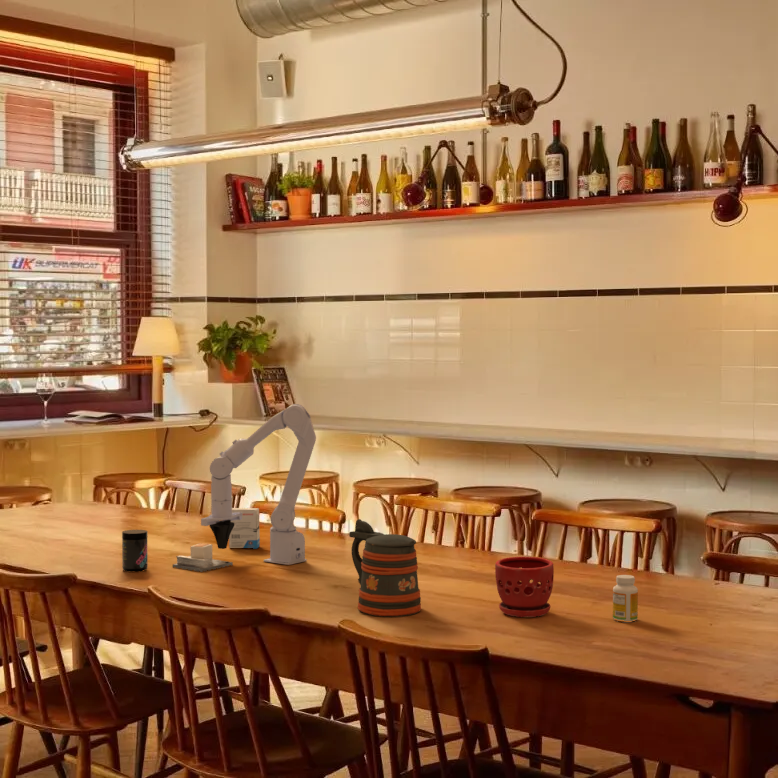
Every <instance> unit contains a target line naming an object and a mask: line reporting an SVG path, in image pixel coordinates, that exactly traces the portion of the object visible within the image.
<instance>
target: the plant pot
mask: <svg viewBox="0 0 778 778" xmlns="http://www.w3.org/2000/svg"><path fill="white" fill-rule="evenodd" d="M494 568H495V569H494V570H495V572H494V573H495V584H496V589H497V593H498V595H499V598H500V600H501V602H500V603H499V604H498V607H499V609H500V611H501V613H503V614H505V615H507V616H510V617H514V616H516V618H522V617H531V618H537V617H536V616H538V617H539V616H541V617H543V616H544V615H546V614H548V613H549V611H550V609H551V604H550V603H548V601H549V600H550V597H551V595H552V592H553V586H554V576H555V575H554V572H555V571H554V563H553V561H551V560H549V559H547V558H545V557H544V558H543V557H536V556H511V557H510V556H509V557H504V558H500V559H499V560H497V561H496V562H495V566H494ZM530 581H532V582H530Z"/></svg>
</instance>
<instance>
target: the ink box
mask: <svg viewBox="0 0 778 778" xmlns="http://www.w3.org/2000/svg"><path fill="white" fill-rule="evenodd" d="M235 512H240V513H242V519H241V520H233V521H231V522H234V527H233V529H232V531H231V533H230V536H229V539H228V544H229V546H228V549H229V548H253V550H256V549H257V550H258V548H259V547H260V543H261V542H260V540H261V538H260V537H261V536H260V533H261V532H260V508H259V507H257V508H256V507H250V508H249V507H247V508H245V507H244V508H243V507H232V513H235Z"/></svg>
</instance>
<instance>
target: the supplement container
mask: <svg viewBox="0 0 778 778" xmlns="http://www.w3.org/2000/svg"><path fill="white" fill-rule="evenodd" d="M121 543H122V545H121V546H122V548H121V549H122V550H121V551H122V557H121V558H122V559H121V561H122V563H121V564H122V570H123V571H124V570H125V571H124V572H126V571H140V572H144V571H143V570H145V571H146V570H147V569H148V567H149V566H148V565H149V564H148V558H149V557H148V556H149V555H148V530H146V529H127V530H123V531H121Z"/></svg>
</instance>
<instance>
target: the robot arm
mask: <svg viewBox="0 0 778 778" xmlns="http://www.w3.org/2000/svg"><path fill="white" fill-rule="evenodd" d="M285 428H288V429H290V430H291V431H292V432H293V434H294V436H295V437H296V439H297V442H298V443H297V446H296V448H295V451H294V452H295V453H294V455H293V458H292V462H291V465H290V468H289V471H288V474H287V476H286V480H285V483H284V487H283V490H282V492H281V496H280V499H279V502H278V504H277V506H276V507H275V508H274V510H273V511H272V512H271V515H270V523H271V525H272V526H271V527H270V528H269V533H270V534H269V544H270V545H269V547H270V548H269V549H270V550H269V554H270V556H269V558H266V559H263V562H266V563H273V564H278V565H279V564H280V565H286V566H287V565H288V566H289V565H294V564H299V563H303V562H307V561H308V559H306V539H305V535H304V534H303V532H300V531H298V530H297V527H296V526H295V525H294V520H295V517H296V510H295V508H296V505H297V504H296V503H297V500H298V497H299V494H300V491H301V488H302V484H303V481H304V478H305V476H306V472H307V470H308V466H309V463H310V460H311V457H312V453H313V451H314V446H315V444H316V440H317V435H316V432H315V429H314V426H313V422H312V418H311V415H310V413H309V412H308V410H307V409H306V408H305V406H303V405H302V404H299V403H293V404H291V405H289V406H288V407H286V409H283V410H281V411H280V412H278V413H277V414H275V415H273V416H272V417H270V418H269V419H268V420H267V421H266V422H265V423H264V424H262V425H261V426H260V427H259V428H258V429H257V430H256V431H254V432H253V433H252V434H251V435H250V436H249V437H248V438H241V437H240V438H239V439H238V440H237V439H234V440H233V441H232V445H231V446H229V447H228V448H226V449H225V450H224V451H220V452H219V456H218V457H216V458H214V459H213V461H211V463H210V465H209V473H210V474H211V479H210V480H211V483H210V496H211V497H210V499H211V501H210V502H211V503H210V504H211V514H209V515H208V516H206V517H201V519H200V526H204V527H208V526H209V528H210V529H211V531H212V534H213V536H214V538H215V541H216V546H217V548H218V549H220V550H225V549H227V546H228V544H229V536H230V533H231V531H232V529H233V527H234V522H231V521H233V520H241V519H242V513H240V512H235V513H232V508H233V490H232V489H233V488H232V485H233V483H232V474H231V473H232V472H233V470H234V469H238V468H239V467H240V465H242V464H243V463H244V462H245V461H247V460H248V459H249V458H250V457H252V456H253V455H254V451H255V449H254V448H255V447H256V446H257V445H259V444H260V443H261V442H262V441H263V440H265V439H266V438H268V437H269V436H270V435H271V434H273V433H274V432H275V431H278V430H284V429H285Z"/></svg>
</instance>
